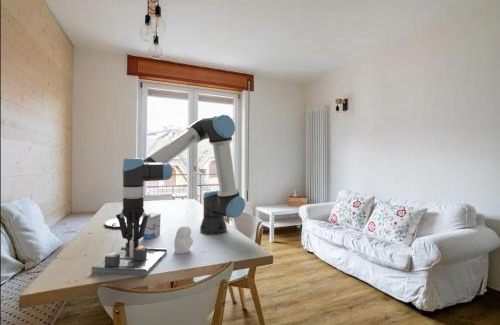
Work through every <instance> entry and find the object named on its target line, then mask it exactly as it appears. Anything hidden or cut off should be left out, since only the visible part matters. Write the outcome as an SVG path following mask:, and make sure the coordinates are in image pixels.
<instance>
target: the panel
mask: <svg viewBox="0 0 500 325" xmlns="http://www.w3.org/2000/svg"><path fill="white" fill-rule="evenodd" d="M146 248H147V258H146V259H145V260H133V257H130V253H126V246H122V247H120V250H118V251H117V252H116V253H118V254H120V265H119V266H117V267H105V260H103V261H102V262H100V263H99V264H97V265H96V266H95V265H94V266H92V267H91V274H96V275H113V276H114V275H118V276H119V275H120V276H141V277H142V276H143V277H144V276H145V277H146V276H147V275H149V273H150V272H151V271H152V270H153V269H154V268H155V267H156V266H157V265H158V264H159V262H161V261H162V259H163V258H164V257H165V256H166V255H167V252H168V249H167V248H159V247H155V248H154V247H146Z"/></svg>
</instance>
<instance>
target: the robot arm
mask: <svg viewBox="0 0 500 325" xmlns="http://www.w3.org/2000/svg"><path fill="white" fill-rule="evenodd" d="M235 132H236V125H235V122H234V120H233V119H232V117H230V115H227V114H221V113H220V114H219V113H218V114H213V115H208V116H207V115H206V116H203V117H201V118H199V119H198V120H196V121H195V122H193V123H192V124H190V125H189V126H187V128H186V130H185V131H184V132H183V133H181V134H179V135H178V136H177V137H175V138H173V139H172V140H171V141H170V142H168V143H167V144H165V145H164V146H162V147H161V148H159V149H158V150H156V151H155V152H154V153H152V154H151V155H149V156H148V157H146V158H145V159H144V158H143V157H126V158H124V159H123V162H122V198H123V199H122V210H121V212H120V213H118V214H116V215H115V217H116V218H117V219H118V220H119V224H120V228H119V229H120V232H121V237H122V239H125V240H126V241H127V242H128V248H130V257H133V250H134V249H136V248H137V247H138V246H139V245H140V244H139V243H140V242H139V240H140V239H142V238H143V236H144V232H145V228H146V224H147V220H148V218H149V217H150V214H151V213H147V212H146V211H145V209H144V197H143V196H144V184H145V182H157V181H162V182H164V181H168V180H170V179H171V178H172V176H173V167H172V164H170V162H171V161H172V160H174V159H175V158H176V157H178V156H179V155H181V154H182V153H184V152H185V151H186V150H188V149H189V148H190V147H192V146H193V145H194V144H199V143H200V142H201V141H203V140H207V139H208V141H209V142H208V143H209V144H210V145H211V146H212V148H213V154H214V155H213V156H214V161H215V168H216V174H217V183H218V189H219V190H208V191H205V192H203V193H204V194H203V215H202V216H203V218H202V221H201V224H200V227H199V231H200V233H201V234H204V235H212V236H213V235H222V234H224V232H225V233H226V232H227V231H228V226H227V223H226V221H225V220H226V219H225V217H227V218H230V219H237V218H239V217H240V216H241V215H242V214H243V213H244V211H245V207H246V201H245V199H244V198H243V197H242V196H240V190H239V189H237V188H236V181H235V174H234V166H233V159H232V153H231V142H232V141H233V136H234V134H235ZM141 216H142V218H143V220H142V223H141V225H140V226H139V221H140V218H141ZM124 217H125V218H126V222H125V218H124ZM126 225H127V226H126Z"/></svg>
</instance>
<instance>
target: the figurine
mask: <svg viewBox="0 0 500 325" xmlns="http://www.w3.org/2000/svg"><path fill="white" fill-rule="evenodd" d="M191 234H192V230H191V227H190V226H189V225H187V224H183V225H180V226H179V227H178V228H177V230H176V233H175V238H174V243H173V244H174V246H173V247H174V248H173V249H174V252H175V254H180V255H181V254H182V255H183V254H187V253H189V251H190V248H191V247H192V245H193V243H194V239H193V238H192V237H191Z"/></svg>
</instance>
